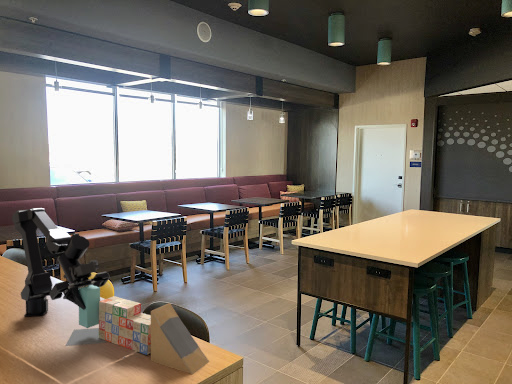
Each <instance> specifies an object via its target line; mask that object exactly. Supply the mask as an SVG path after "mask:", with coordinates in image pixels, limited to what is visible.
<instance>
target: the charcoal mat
mask: <svg viewBox="0 0 512 384" xmlns="http://www.w3.org/2000/svg"><path fill="white" fill-rule="evenodd" d="M107 342H108V341H106V340H104V339H101V338H99V327H94V328H93V327H92V328H91V327H90V328H77V329H73V330H72V333H71V334H70V336H69V338H68V339H67V341H66V343H65V347H67V346H69V347H70V346H77V345H78V346H80V345H82V346H83V345H93V344H94V345H95V344H96V345H97V344H107Z"/></svg>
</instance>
